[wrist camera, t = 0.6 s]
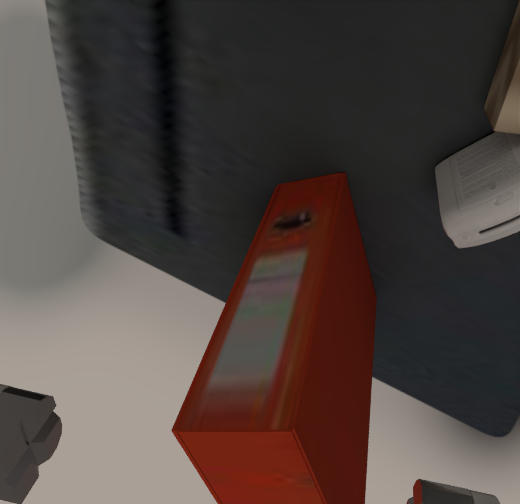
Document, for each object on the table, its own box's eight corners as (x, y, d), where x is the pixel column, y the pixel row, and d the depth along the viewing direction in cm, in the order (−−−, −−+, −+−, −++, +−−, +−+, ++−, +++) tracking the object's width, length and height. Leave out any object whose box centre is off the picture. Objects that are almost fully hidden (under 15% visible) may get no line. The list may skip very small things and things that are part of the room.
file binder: (313, 302, 63) (260, 573, 38) (273, 185, 55) (170, 433, 29) (376, 296, 60) (364, 583, 35) (345, 171, 52) (299, 431, 26)
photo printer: (447, 197, 51) (460, 268, 41) (426, 165, 50) (434, 231, 40) (551, 145, 46) (594, 212, 36) (532, 108, 44) (571, 167, 35)
